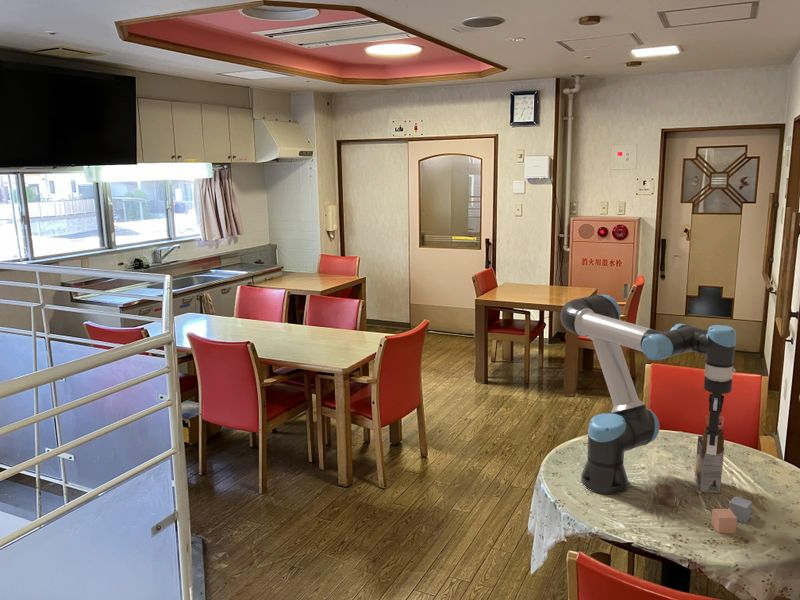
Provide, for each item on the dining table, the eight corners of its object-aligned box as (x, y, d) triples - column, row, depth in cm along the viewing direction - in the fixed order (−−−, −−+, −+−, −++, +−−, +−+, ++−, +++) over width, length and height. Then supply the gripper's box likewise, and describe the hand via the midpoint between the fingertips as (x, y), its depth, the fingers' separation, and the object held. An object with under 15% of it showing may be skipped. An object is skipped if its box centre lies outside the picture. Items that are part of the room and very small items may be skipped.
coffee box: (693, 478, 225) (697, 435, 222) (713, 479, 224) (717, 436, 220) (700, 492, 216) (703, 446, 213) (721, 493, 215) (725, 448, 211)
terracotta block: (718, 533, 194) (719, 517, 193) (711, 523, 199) (712, 508, 197) (735, 533, 193) (737, 518, 192) (728, 523, 198) (729, 508, 197)
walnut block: (657, 505, 209) (658, 491, 208) (656, 497, 214) (657, 483, 213) (674, 507, 208) (675, 493, 206) (673, 499, 212) (674, 485, 211)
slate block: (727, 517, 202) (729, 502, 201) (733, 510, 205) (734, 496, 204) (745, 523, 198) (746, 508, 197) (750, 516, 202) (752, 501, 201)
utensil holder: (727, 452, 199) (730, 415, 196) (713, 456, 196) (716, 419, 194) (710, 444, 204) (713, 408, 202) (696, 449, 202) (699, 412, 199)
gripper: (731, 389, 185) (723, 465, 191) (733, 369, 201) (727, 439, 207) (701, 386, 189) (695, 460, 194) (706, 366, 205) (701, 435, 210)
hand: (711, 449), depth 200 cm, fingers closed on utensil holder, 6 cm apart
